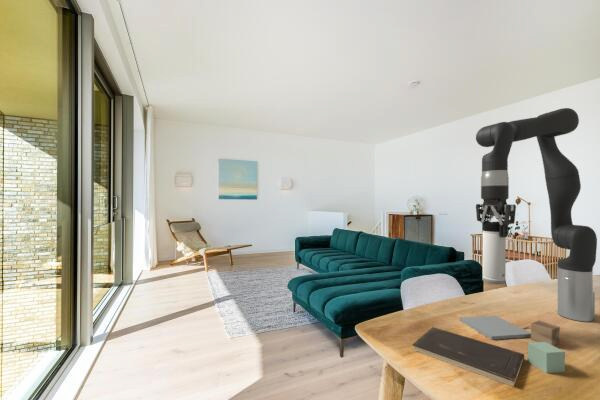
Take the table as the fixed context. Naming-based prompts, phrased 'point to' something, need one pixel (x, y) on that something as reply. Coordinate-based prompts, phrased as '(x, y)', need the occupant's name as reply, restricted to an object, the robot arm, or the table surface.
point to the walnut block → (545, 333)
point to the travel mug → (493, 254)
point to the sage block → (546, 357)
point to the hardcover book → (471, 355)
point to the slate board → (495, 327)
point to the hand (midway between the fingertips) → (494, 235)
